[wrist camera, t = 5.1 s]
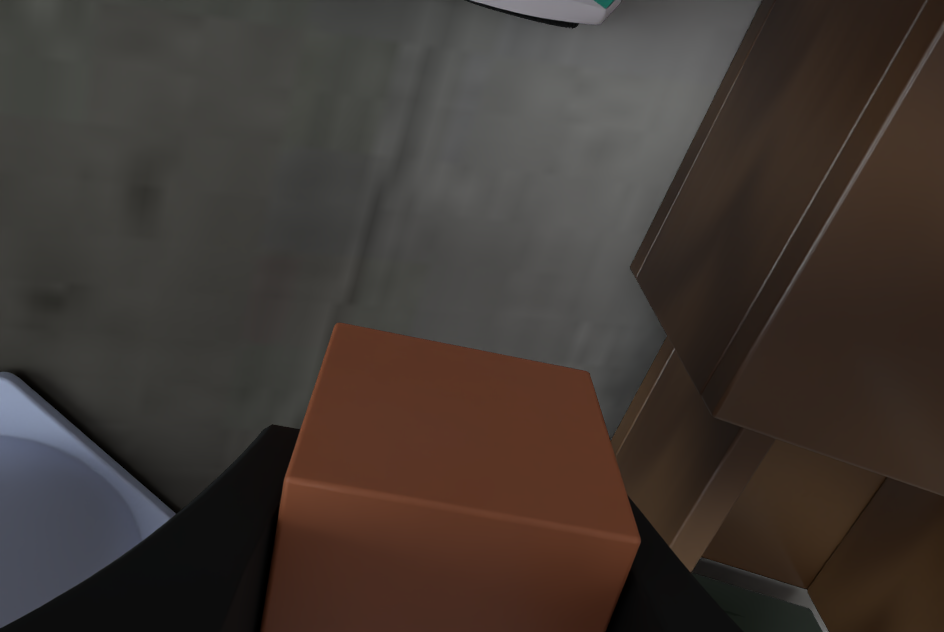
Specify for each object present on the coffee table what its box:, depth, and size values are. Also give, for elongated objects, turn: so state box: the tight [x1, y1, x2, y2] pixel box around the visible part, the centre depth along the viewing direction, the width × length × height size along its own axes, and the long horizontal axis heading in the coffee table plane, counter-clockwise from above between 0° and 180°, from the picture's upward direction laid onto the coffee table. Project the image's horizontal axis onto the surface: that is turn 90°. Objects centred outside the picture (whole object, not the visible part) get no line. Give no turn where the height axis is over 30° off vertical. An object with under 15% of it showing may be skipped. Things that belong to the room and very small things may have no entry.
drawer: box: [611, 336, 944, 632], centre depth 21 cm, size 18×9×6 cm, turn 159°
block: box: [260, 323, 641, 632], centre depth 11 cm, size 4×4×4 cm
